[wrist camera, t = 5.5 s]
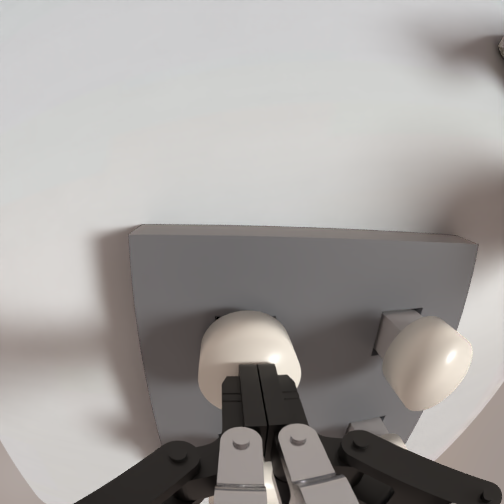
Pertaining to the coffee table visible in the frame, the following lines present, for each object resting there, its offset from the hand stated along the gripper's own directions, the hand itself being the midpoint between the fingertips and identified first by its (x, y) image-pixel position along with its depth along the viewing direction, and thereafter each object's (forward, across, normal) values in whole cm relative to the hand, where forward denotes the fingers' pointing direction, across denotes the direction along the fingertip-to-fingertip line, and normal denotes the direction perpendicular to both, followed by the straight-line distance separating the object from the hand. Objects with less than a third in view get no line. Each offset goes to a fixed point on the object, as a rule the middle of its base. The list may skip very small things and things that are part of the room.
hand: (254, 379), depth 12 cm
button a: (+5, 0, 0) cm, 5 cm away
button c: (+4, -9, 0) cm, 10 cm away
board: (+6, -4, +4) cm, 8 cm away
